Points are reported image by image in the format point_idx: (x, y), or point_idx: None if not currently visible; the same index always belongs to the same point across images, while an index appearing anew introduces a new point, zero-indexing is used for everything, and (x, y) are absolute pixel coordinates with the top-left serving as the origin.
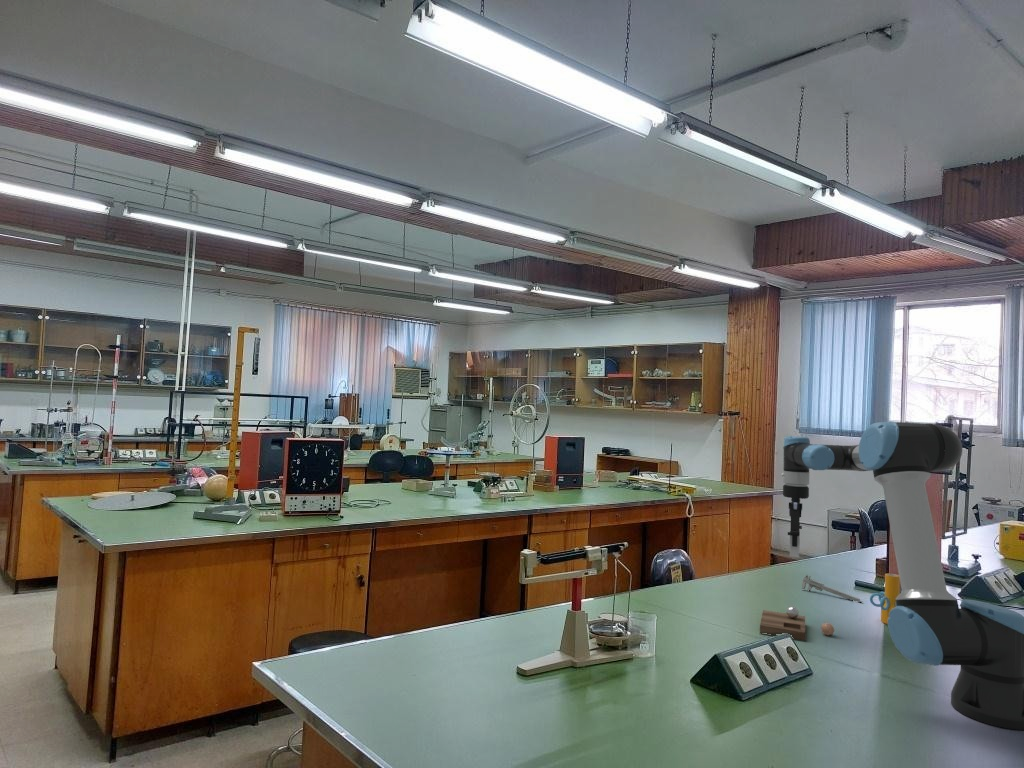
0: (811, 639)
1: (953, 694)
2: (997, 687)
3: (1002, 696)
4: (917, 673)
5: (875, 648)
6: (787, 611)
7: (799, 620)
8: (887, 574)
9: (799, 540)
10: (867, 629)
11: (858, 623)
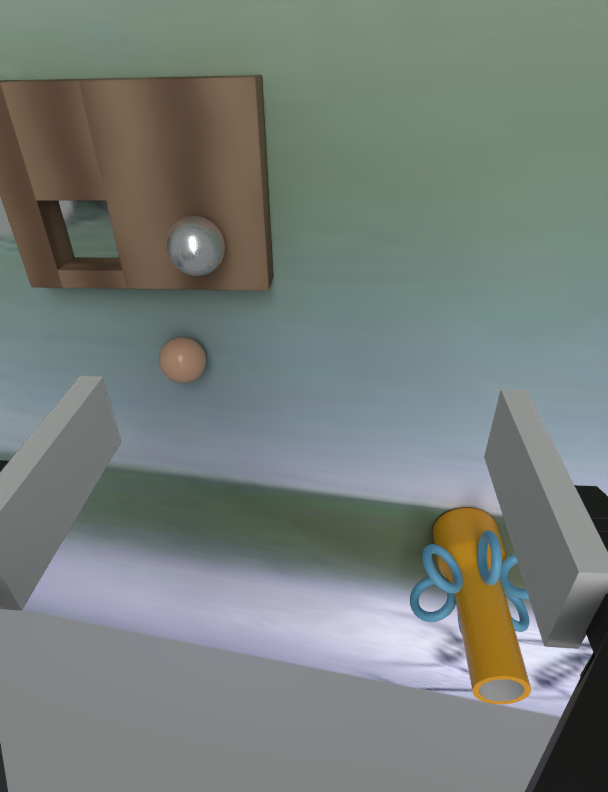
0: (94, 295)
1: None
2: None
3: None
4: None
5: (154, 459)
6: (174, 224)
7: None
8: (517, 679)
9: (508, 526)
10: (347, 463)
11: (408, 447)
